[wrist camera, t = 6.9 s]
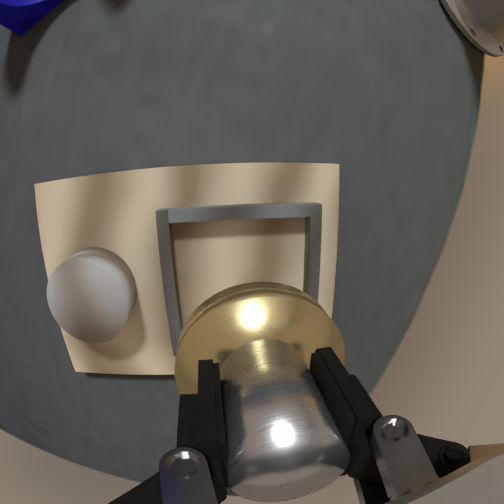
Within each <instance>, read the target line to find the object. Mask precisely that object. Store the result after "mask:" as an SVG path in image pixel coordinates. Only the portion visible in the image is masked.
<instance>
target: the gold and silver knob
mask: <svg viewBox="0 0 504 504" xmlns="http://www.w3.org/2000/svg"><path fill="white" fill-rule="evenodd" d="M324 347H331V348H332V349H333V351H334V352H335V354H336V355H337V357H338V358H339V360H340V361H341V363H342V364H343V366H344V361H345V347H344V343H343V339H342V336H341V334H340V331H339V330H338V328H337V327H336V325H335V324H334V322H333V321H332V320H331V318H330V317H329V316H328V314H327V313H326V312H325V311H324V309H323V308H322V307H321V306H320V305H319V303H318V302H317V301H316V300H315V299H313V298H312V297H311V296H310V295H308V294H307V293H305V292H303V291H302V290H300V289H297V288H295V287H293V286H290V285H286V284H282V283H276V282H249V283H244V284H239V285H235V286H232V287H229V288H227V289H224V290H222V291H220V292H218V293H216V294H214V295H213V296H211V297H210V298H208V299H207V300H205V301H204V302H203V303H202V304H200V305H199V306H198V307H197V308H196V309H195V310H194V311H193V313H192V314H191V315H190V316H189V318H188V319H187V321H186V322H185V324H184V326H183V328H182V331H181V333H180V337H179V341H178V346H177V353H176V361H175V380H176V384H177V388H178V390H179V392H180V394H198V360H207V359H213V363H219V369H220V379H221V390H222V402H223V413H224V424H225V434H226V444H227V453H228V463H227V471H228V480H229V486H230V488H231V489H232V491H233V492H234V493H236V494H237V495H239V496H241V497H243V498H246V499H249V500H254V501H263V502H275V501H285V500H290V499H295V498H299V497H303V496H306V495H308V494H311V493H313V492H316V491H318V490H320V489H322V488H324V487H325V486H327V485H329V484H330V483H332V482H333V481H335V480H336V479H337V478H338V477H339V476H340V475H341V474H342V473H343V472H344V471H345V469H346V468H347V466H348V464H349V461H350V453H349V451H348V449H347V447H346V445H345V443H344V441H343V439H342V437H341V434H340V432H339V430H338V428H337V426H336V424H335V422H334V420H333V418H332V416H331V414H330V412H329V410H328V408H327V406H326V404H325V402H324V400H323V397H322V395H321V393H320V391H319V389H318V387H317V385H316V383H315V381H314V379H313V377H312V375H311V373H310V371H309V369H310V359H311V354H312V353H315V350H316V349H318V348H324Z"/></svg>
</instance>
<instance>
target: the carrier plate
mask: <svg viewBox="0 0 504 504" xmlns="http://www.w3.org/2000/svg"><path fill="white" fill-rule="evenodd" d="M35 197H36V207H37V216H38V224H39V232H40V238H41V245H42V251H43V256H44V262H45V267H46V272H47V276H48V285H47V300H48V305H49V308H50V310H51V313H52V315H53V316H54V318H55V320H56V321H57V323H58V324H59V325H60V327H61V330H62V334H63V337H64V340H65V343H66V346H67V349H68V352H69V355H70V358H71V360H72V363H73V366H74V369H75V371H76V372H89V373H106V374H135V375H175V361H176V353H177V346H178V341H179V337H180V333H181V331H182V328H183V326H184V324H185V322H186V321H187V319H188V318H189V316H190V315H191V314H192V313H193V311H194V310H195V309H196V308H197V307H198V306H199V305H200V304H202V303H203V302H204V301H205V300H207V299H208V298H210V297H211V296H213V295H214V294H216V293H218V292H220V291H222V290H224V289H227V288H229V287H232V286H235V285H239V284H244V283H249V282H276V283H282V284H286V285H290V286H293V287H295V288H297V289H300V290H302V291H303V292H305V293H307V294H308V295H310V296H311V297H312V298H313V299H315V300H316V301H317V302H318V303H319V305H320V306H321V307H322V308H323V309H324V311H325V312H326V313H327V314H328V316H329V317H330V318H332V308H333V297H334V285H335V271H336V256H337V238H338V212H339V164H325V163H229V164H205V165H188V166H173V167H160V168H149V169H138V170H129V171H120V172H111V173H103V174H96V175H88V176H81V177H74V178H68V179H62V180H56V181H50V182H44V183H39V184H35Z"/></svg>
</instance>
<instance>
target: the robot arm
mask: <svg viewBox="0 0 504 504" xmlns="http://www.w3.org/2000/svg"><path fill="white" fill-rule="evenodd" d="M440 1H441V2H442V4H443V6H444V8H445V10H446V11H447V13H448V14H449V16H450V18H451V19H452V20H453V22H454V23H455V25H456V26H457V27H458V28H459V30H460V31H461V32H462V33H463V35H464V36H465V37H466V38H467V39H468V40H469V41H470V42H471V43H472V44H473V45H474V46H476V47H477V48H478V49H479V50H481V51H482V52H484V53H485V54H487V55H490V56H494V57H497V56H503V55H504V0H440ZM309 371H310V373H311V375H312V377H313V379H314V381H315V383H316V385H317V387H318V389H319V391H320V393H321V395H322V397H323V400H324V402H325V404H326V406H327V408H328V410H329V412H330V414H331V416H332V418H333V420H334V422H335V424H336V426H337V428H338V430H339V432H340V434H341V437H342V439H343V441H344V443H345V445H346V447H347V449H348V451H349V453H350V461H349V464H348V466H347V468H346V469H345V471H344V472H343V473H342V474H341V475H340V476H342V475H346V474H348V475H349V477H352V478H354V483H355V487H356V491H357V495H358V498H359V502H360V504H504V443H503V444H491V445H476V446H469V447H468V449H466V448H465V447H464V446H463V445H461V444H459V443H456V442H451V441H446V440H442V439H437V438H433V437H428V436H424V435H420V434H416V432H415V430H414V428H413V426H412V424H411V423H410V422H409V421H408V420H407V419H405V418H403V417H400V416H397V415H388V416H384V417H383V416H382V414H381V413H380V411H379V410H378V409H377V407H376V405H374V403H373V401H372V400H371V398H370V397H369V395H368V394H367V392H366V391H365V389H364V388H363V386H362V385H361V383H360V382H359V380H358V379H357V377H356V376H355V375H353V374H352V375H349V373H348V372H347V370H346V369H345V367H344V366H343V364H342V363H341V361H340V360H339V358H338V357H337V355H336V354H335V352H334V351H333V349H332V348H331V347H324V348H318V349H316V350H315V353H312V354H311V359H310V369H309ZM227 463H228V453H227V444H226V434H225V424H224V413H223V402H222V390H221V379H220V369H219V363H213V359H207V360H198V394H181V395H180V403H179V416H178V431H177V447H176V448H175V449H172V450H170V451H168V452H166V453H165V454H164V455H163V456H162V458H161V460H160V462H159V472H158V473H156V474H155V475H153V476H152V477H150V478H149V479H147V480H145V481H144V482H142V483H141V484H139V485H138V486H136V487H135V488H133V489H131V490H130V491H128V492H126V493H125V494H123V495H122V496H120V497H118V498H116V499H115V500H113V501H111V502H110V503H109V504H220V503H221V502H222V501H224V500H225V499H226V498H227V497H226V495H227V489H226V487H230V486H229V480H228V471H227Z"/></svg>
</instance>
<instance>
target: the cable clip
mask: <svg viewBox="0 0 504 504" xmlns="http://www.w3.org/2000/svg"><path fill="white" fill-rule="evenodd" d="M63 1H64V0H0V24H1V25H3V26H4V27H6V28H8V29H10V30H11V31H13V32H15V33H16V34H18V35H20V36H22V35H23V34H24V33H25V32H26V31H27V30H29V29H30V28H31V27H32V26H33V25H34V24H35V23H36V22H38V21H39V20H40V19H41V18H42V17H44V16H45V15H46V14H47V13H48V12H50V11H51V10H52V9H53V8H55V7H56V6H57V5H59V4H60V3H61V2H63Z"/></svg>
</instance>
